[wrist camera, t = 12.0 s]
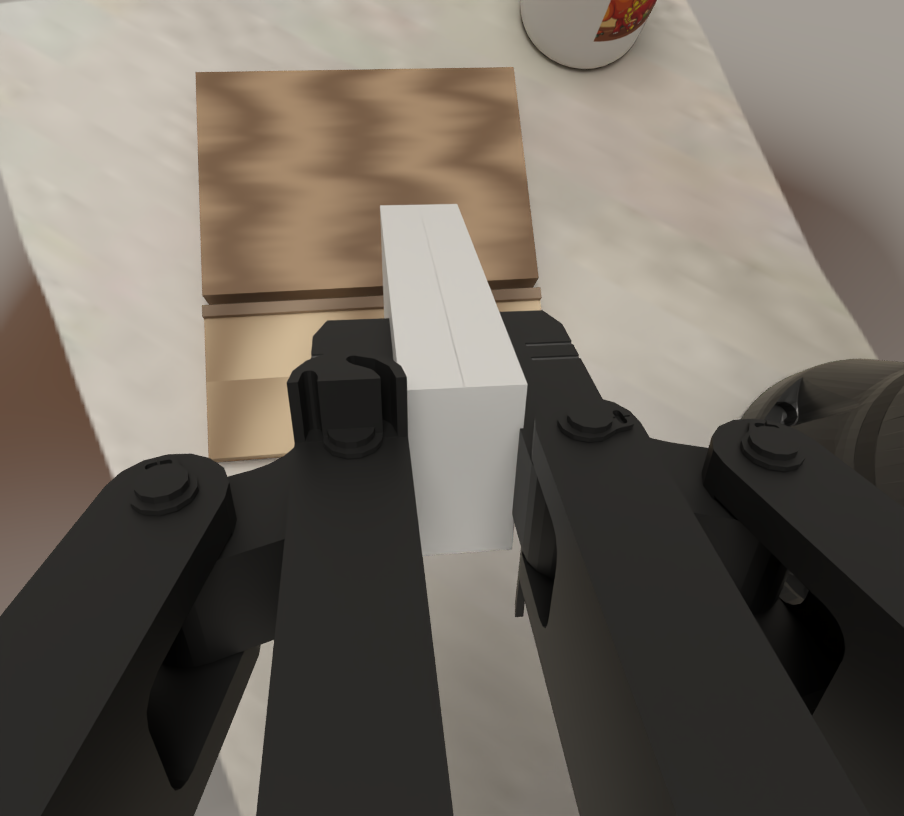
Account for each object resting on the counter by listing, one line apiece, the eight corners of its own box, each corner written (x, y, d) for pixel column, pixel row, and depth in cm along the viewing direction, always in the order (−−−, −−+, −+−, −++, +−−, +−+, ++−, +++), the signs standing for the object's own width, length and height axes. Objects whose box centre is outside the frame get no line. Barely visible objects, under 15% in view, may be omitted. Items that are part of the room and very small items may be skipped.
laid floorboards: (532, 298, 40) (540, 287, 38) (548, 436, 39) (557, 431, 37) (210, 316, 38) (202, 305, 36) (215, 462, 37) (206, 458, 35)
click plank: (532, 287, 40) (508, 83, 42) (538, 277, 39) (513, 67, 41) (209, 304, 38) (202, 89, 40) (202, 295, 36) (195, 72, 39)
